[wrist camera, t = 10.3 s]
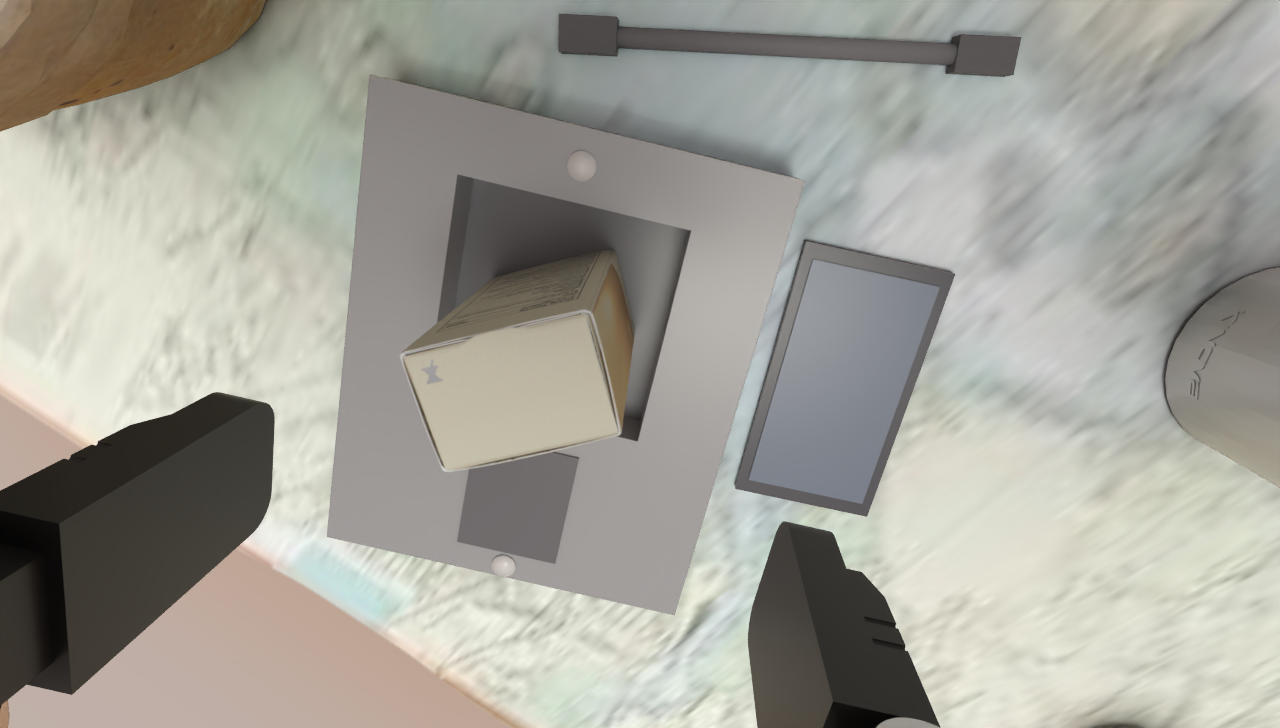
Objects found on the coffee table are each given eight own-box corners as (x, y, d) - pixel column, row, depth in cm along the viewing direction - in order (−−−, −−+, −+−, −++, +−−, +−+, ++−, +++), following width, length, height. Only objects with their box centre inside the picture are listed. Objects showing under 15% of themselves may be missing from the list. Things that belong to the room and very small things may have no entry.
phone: (946, 270, 32) (955, 274, 31) (861, 506, 36) (867, 517, 35) (802, 238, 32) (806, 241, 31) (733, 479, 36) (735, 489, 35)
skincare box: (516, 361, 33) (431, 480, 22) (490, 275, 32) (385, 354, 20) (643, 333, 33) (626, 441, 21) (621, 244, 31) (590, 308, 20)
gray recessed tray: (793, 176, 30) (806, 181, 27) (674, 578, 37) (674, 617, 34) (398, 80, 30) (367, 74, 27) (353, 506, 37) (325, 538, 34)
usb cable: (1010, 40, 28) (1021, 37, 27) (1003, 76, 29) (1013, 74, 28) (562, 17, 29) (559, 13, 28) (562, 53, 29) (558, 50, 28)
